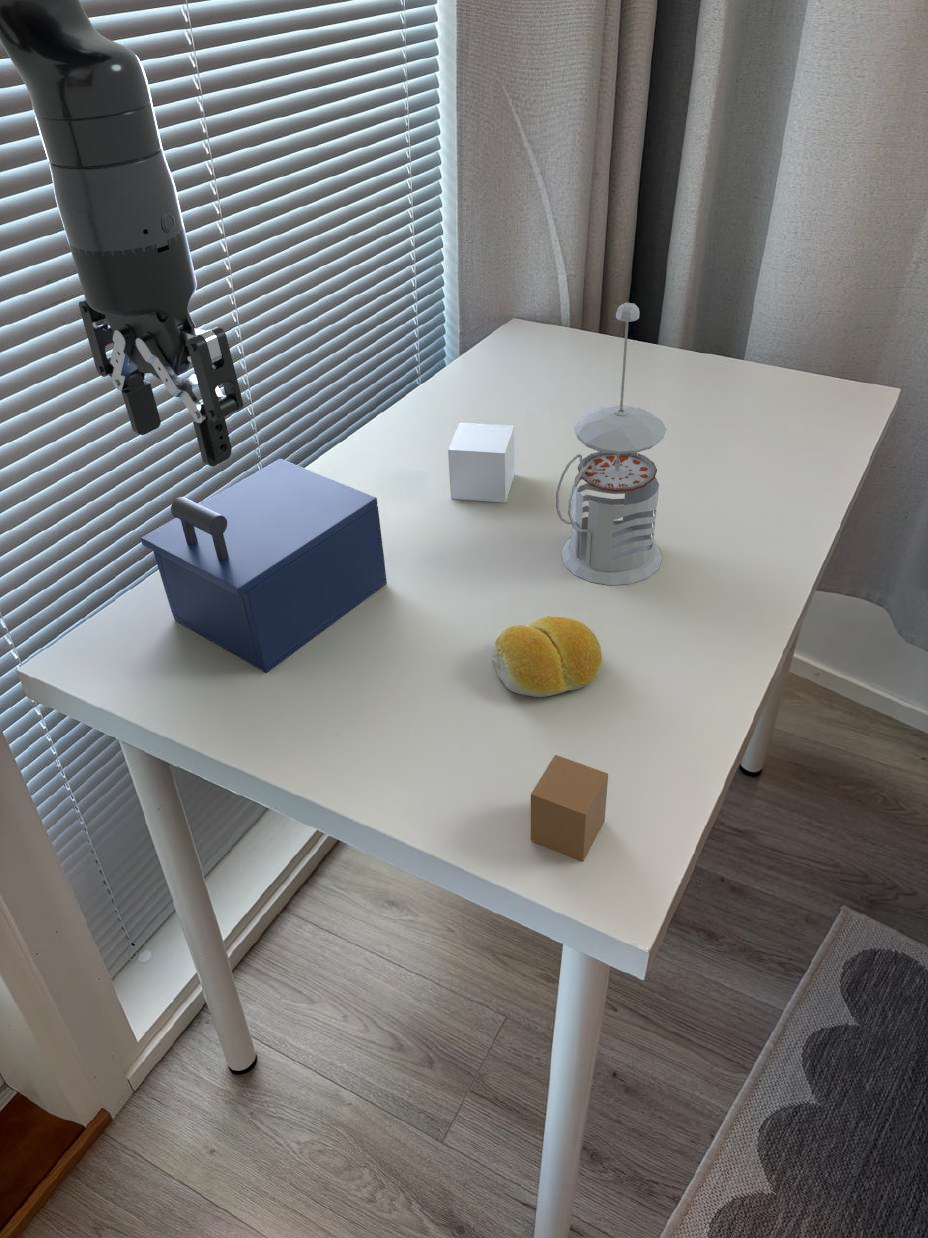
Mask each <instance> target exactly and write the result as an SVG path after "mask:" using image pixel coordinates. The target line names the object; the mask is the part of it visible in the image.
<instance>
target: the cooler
mask: <svg viewBox="0 0 928 1238" xmlns="http://www.w3.org/2000/svg"><path fill="white" fill-rule="evenodd" d="M379 512H380V511H379V506H378V505H377V506H375V507H374V508H372V509H371V510H369V511H368V512H366V513H365V514H363V515H362V516H360V517H359V518H357V519H356V520H354V521H353V522H351V523H350V524H348V525H347V526H345V527H344V528H342V529H341V530H339V531H338V532H336V533H335V534H333V535H331V536H330V537H328V538H327V539H325V540H324V541H322V542H321V543H319V544H318V545H316V546H315V547H313V548H312V549H310V550H309V551H307V552H306V553H304V554H303V555H301V556H300V557H298V558H297V559H295V560H294V561H292V562H291V563H289V564H288V565H286V566H285V567H283V568H282V569H280V570H279V571H277V572H276V573H274V574H273V575H271V576H270V577H268V578H267V579H265V580H264V581H262V582H261V583H259V584H258V585H256V586H255V587H253V588H252V589H250V590H248V591H247V592H245V593H244V594H242V595H241V596H238V595H236V594H234V593H232V592H230V591H228V590H226V589H224V588H223V587H221V586H219V585H217V584H215V583H213V582H211V581H209V580H208V579H206V578H204V577H202V576H200V575H198V574H196V573H194V572H192V571H191V570H189V569H187V568H185V567H183V566H181V565H179V564H177V563H175V562H174V561H172V560H170V559H168V558H166V557H164V556H162V555H160V554H159V553H157V552H155V551H153V550H152V552H153V555H154V559H155V562H156V565H157V568H158V572H159V575H160V578H161V582H162V585H163V589H164V591H165V594H166V598H167V601H168V604H169V608H170V611H171V614H172V617H173V620H174V621H176V622H177V623H179V624H181V625H182V626H184V627H186V628H188V629H189V630H191V631H193V632H194V633H197V634H198V635H199V636H202V637H203V638H204V639H207V640H208V641H210V642H212V643H213V644H216V645H217V646H219V647H221V648H222V649H223V650H225V651H227V652H230V653H231V654H233V655H234V656H236V657H238V658H240V659H241V660H243V661H244V662H246V663H248V664H249V665H252V666H254V667H255V668H257V669H259V670H260V671H262V672H264V673H266V674H267V673H268V672H270V671H271V670H273V669H274V668H275V667H276V666H278V665H280V664H281V663H283V662H284V661H285V660H286V659H287V658H289V657H290V656H291V655H293V654H294V653H295V652H297V651H298V650H299V649H301V648H303V646H305V645H306V644H307V643H309V642H310V641H312V640H313V639H314V638H316V637H318V635H320V634H321V633H322V632H324V631H325V630H327V629H328V628H330V627H331V626H332V625H333V624H335V623H336V622H337V621H338V620H340V619H341V618H343V617H344V616H345V615H346V614H348V613H350V611H353V609H355V608H356V607H358V606H359V605H360V604H361V603H363V602H364V601H366V600H367V599H368V598H370V597H371V596H372V595H374V594H375V593H376V592H378V591H379V590H380V589H382V588H383V587H384V586H386V585H387V584H388V581H387V571H386V564H385V555H384V547H383V538H382V529H381V521H380V513H379Z"/></svg>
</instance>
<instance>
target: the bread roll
mask: <svg viewBox="0 0 928 1238" xmlns="http://www.w3.org/2000/svg"><path fill="white" fill-rule="evenodd" d="M602 659H603V658H602V648H601V644H600V642H599V640H598V638H597V636H596V634H595V633H594V632H593V631H592V629H591V628H589V627H588V626H587V625H586V624H584V623H583V622H581V621H580V620H577V619H574V618H570V617H564V616H549V615H548V616H544V617H542V618H538V619H536V620H534V621H532V622H530V623H529V624H527V625H522V624H518V625H517V624H516V625H512V626H509V627H507V628H505V630H503V632H501V633H500V634H499V636H498V637H497V638H496V640H495V644H494V647H493V654H492V658H491V662H492V665H493V667H494V669H495V671H496V674H497V676H498V678H499V680H500V681H501V682H502V684H503V685H504V686H505V687H506V689H508V690H509V691H511V692H513V693H516V694H518V695H524V696H529V697H535V698H546V697H551V696H555V695H558V694H562V693H565V692H568V691H575V690H579V689H582V688H584V687H587V686H589V685H591V684H592V683H593V682H594V681H595V679H596V678H597V676H598V673H599V671H600V669H601V665H602Z"/></svg>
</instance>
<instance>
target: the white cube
mask: <svg viewBox="0 0 928 1238" xmlns="http://www.w3.org/2000/svg"><path fill="white" fill-rule="evenodd" d="M447 457H448V475H449V491H450V500H460V501H461V500H463V501H473V502H474V501H476V502H488V503H489V502H490V503H502V504H503V503H504V504H506V503H507V500H508V497H509V493H510V490H511V488H512V484H513V481H514V478H515V474H516V473H515V472H516V471H515V467H516V466H515V465H516V464H515V463H516V461H515V425H511V424H510V425H509V424H490V423H476V422H475V423H473V422H459V423H458V425H457V428H456V430H455V432H454V434H453V437H452V439H451V442H450V444H449V446H448V449H447Z"/></svg>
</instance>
